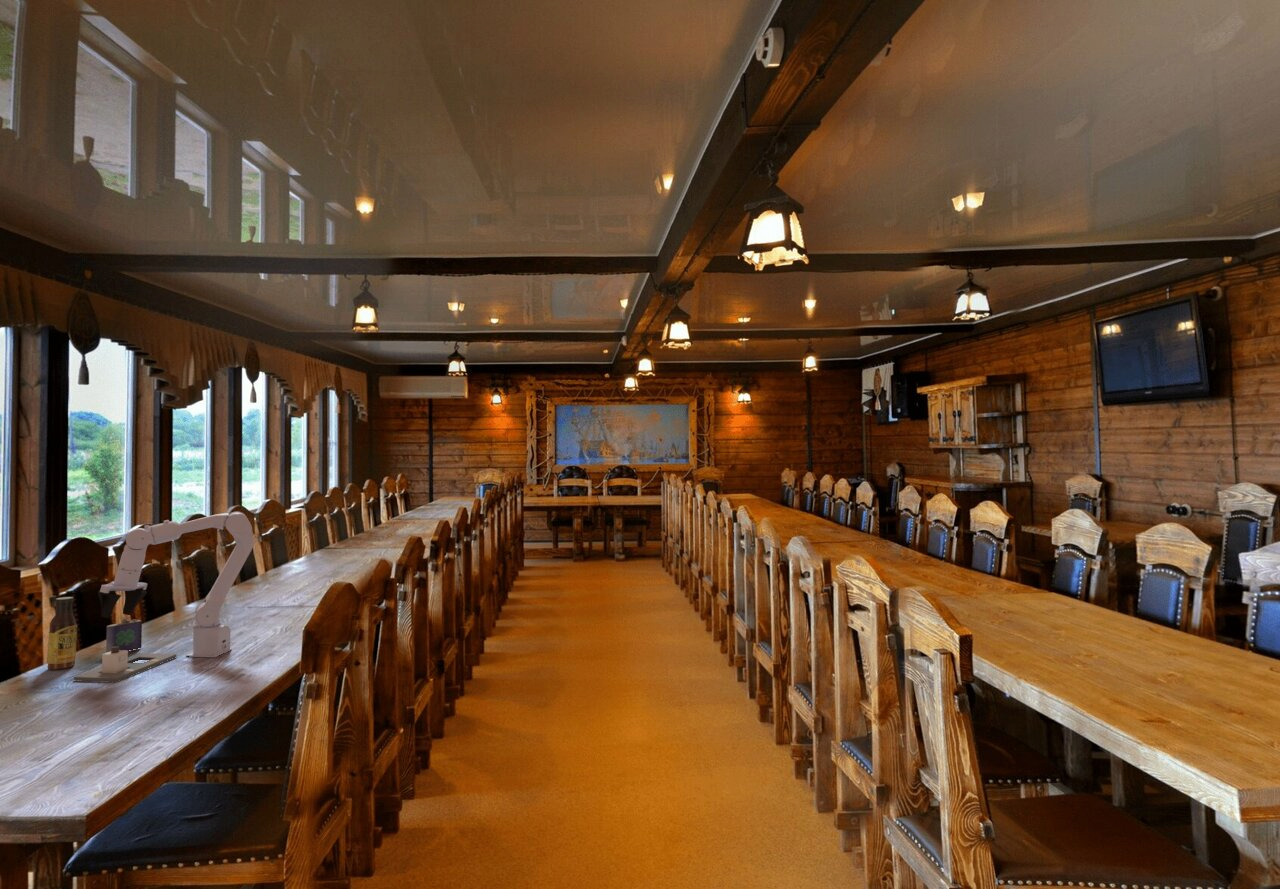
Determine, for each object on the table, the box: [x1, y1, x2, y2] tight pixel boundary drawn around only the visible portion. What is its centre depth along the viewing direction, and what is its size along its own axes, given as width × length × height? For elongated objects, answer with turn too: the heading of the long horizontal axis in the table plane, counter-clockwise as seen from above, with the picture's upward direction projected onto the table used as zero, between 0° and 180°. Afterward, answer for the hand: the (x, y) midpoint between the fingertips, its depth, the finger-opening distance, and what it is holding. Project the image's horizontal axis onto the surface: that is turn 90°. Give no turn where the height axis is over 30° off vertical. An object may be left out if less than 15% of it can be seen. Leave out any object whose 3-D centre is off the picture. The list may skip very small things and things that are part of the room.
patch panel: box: [73, 652, 177, 683], centre depth 196 cm, size 12×22×1 cm, turn 176°
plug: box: [101, 646, 129, 673], centre depth 192 cm, size 5×4×7 cm
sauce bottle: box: [47, 596, 78, 671], centre depth 198 cm, size 7×6×20 cm
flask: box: [105, 616, 143, 653], centre depth 213 cm, size 9×3×11 cm, turn 146°
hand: (116, 615), depth 199 cm, fingers open, 7 cm apart
